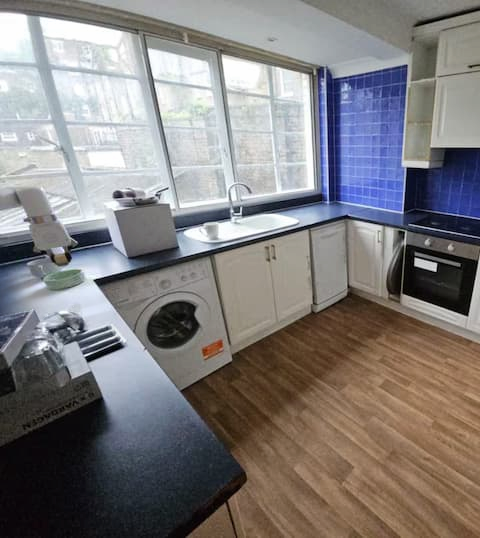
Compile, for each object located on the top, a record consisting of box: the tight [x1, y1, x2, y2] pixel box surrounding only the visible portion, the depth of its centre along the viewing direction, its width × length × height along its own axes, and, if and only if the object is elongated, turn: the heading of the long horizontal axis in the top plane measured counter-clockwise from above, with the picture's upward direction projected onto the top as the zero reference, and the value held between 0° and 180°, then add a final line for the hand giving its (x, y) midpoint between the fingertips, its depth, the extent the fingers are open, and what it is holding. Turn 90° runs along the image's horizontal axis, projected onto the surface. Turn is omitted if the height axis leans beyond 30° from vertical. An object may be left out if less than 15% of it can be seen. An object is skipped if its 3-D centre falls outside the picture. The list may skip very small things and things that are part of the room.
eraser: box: [54, 252, 70, 267], centre depth 122 cm, size 6×3×4 cm, turn 39°
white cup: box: [44, 247, 67, 268], centre depth 154 cm, size 8×8×10 cm
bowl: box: [42, 268, 87, 291], centre depth 133 cm, size 13×13×4 cm
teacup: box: [26, 257, 63, 279], centre depth 140 cm, size 14×11×8 cm
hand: (63, 262), depth 122 cm, fingers closed on eraser, 3 cm apart
